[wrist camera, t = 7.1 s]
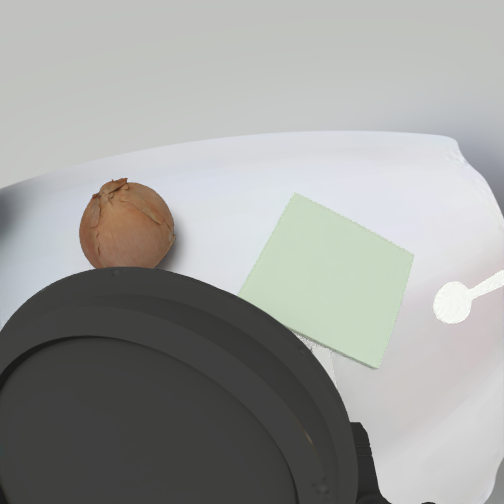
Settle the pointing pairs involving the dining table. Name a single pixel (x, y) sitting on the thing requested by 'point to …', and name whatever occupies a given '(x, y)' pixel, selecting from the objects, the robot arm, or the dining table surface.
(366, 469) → the robot arm
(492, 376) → the dining table surface
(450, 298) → the spoon
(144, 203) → the onion
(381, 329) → the mat
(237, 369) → the coffee cup
